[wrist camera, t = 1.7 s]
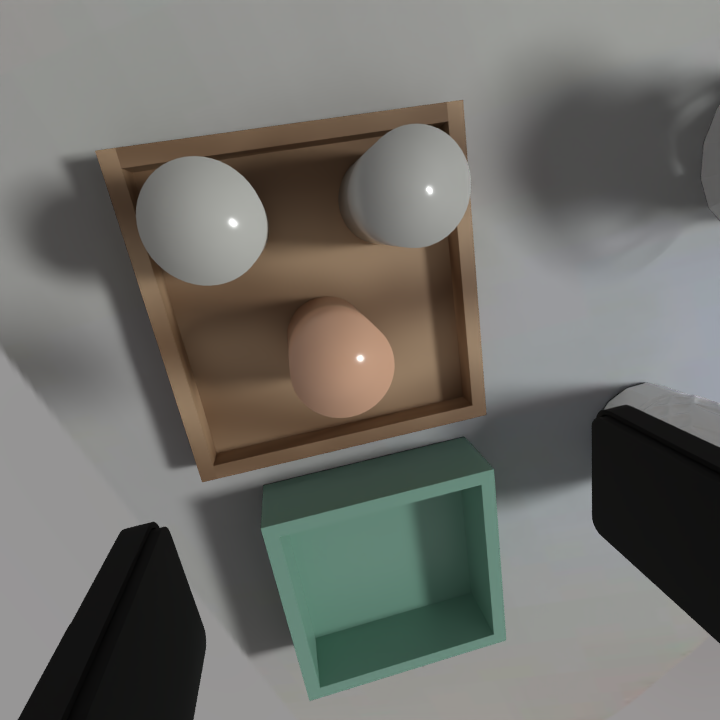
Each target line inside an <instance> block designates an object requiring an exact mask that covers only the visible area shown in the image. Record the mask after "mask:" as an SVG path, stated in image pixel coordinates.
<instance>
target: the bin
mask: <svg viewBox="0 0 720 720" xmlns="http://www.w3.org/2000/svg"><path fill="white" fill-rule="evenodd" d="M261 531H262V535H263V538H264V542H265V545H266V549H267V552H268V556H269V559H270V563H271V567H272V570H273V574H274V577H275V581H276V584H277V588H278V591H279V595H280V598H281V602H282V605H283V609H284V612H285V616H286V619H287V623H288V626H289V630H290V633H291V637H292V640H293V644H294V648H295V651H296V655H297V658H298V662H299V665H300V669H301V672H302V676H303V679H304V683H305V686H306V690H307V693H308V697H309V700H310V701H311V700H314V699H318V698H321V697H324V696H327V695H331V694H334V693H337V692H340V691H343V690H347V689H350V688H353V687H356V686H360V685H363V684H366V683H369V682H373V681H376V680H379V679H382V678H386V677H389V676H392V675H395V674H398V673H402V672H405V671H408V670H411V669H415V668H418V667H421V666H424V665H428V664H431V663H434V662H437V661H440V660H444V659H447V658H450V657H453V656H457V655H460V654H463V653H466V652H470V651H473V650H476V649H479V648H483V647H486V646H489V645H492V644H495V643H499V642H502V641H505V640H506V631H505V617H504V603H503V589H502V575H501V561H500V547H499V533H498V519H497V505H496V491H495V477H494V469H493V468H492V466H491V465H490V464H489V463H488V462H487V461H486V460H485V459H484V458H483V457H482V455H481V454H480V453H479V452H478V451H477V450H476V449H475V448H474V447H473V446H472V444H471V443H470V442H469V441H468V440H467V439H466V438H465V437H461V438H457V439H453V440H449V441H445V442H441V443H437V444H432V445H428V446H424V447H420V448H416V449H412V450H408V451H404V452H399V453H395V454H391V455H387V456H383V457H379V458H375V459H371V460H366V461H362V462H358V463H354V464H350V465H346V466H342V467H338V468H333V469H329V470H325V471H321V472H317V473H313V474H309V475H305V476H300V477H296V478H292V479H288V480H284V481H280V482H276V483H272V484H267V485H263V499H262V516H261Z"/></svg>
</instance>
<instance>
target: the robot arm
mask: <svg viewBox="0 0 720 720" xmlns="http://www.w3.org/2000/svg"><path fill="white" fill-rule="evenodd" d="M592 520H593V523H594V526H595V528H596V530H597V531H598V533H599V534H600V535H601V536H602V537H603V538H604V539H606V540H607V541H608V542H609V543H610V544H611V545H612V546H613V547H614V548H615V549H617V550H618V551H619V552H620V553H621V554H622V555H623V556H624V557H625V558H626V559H628V560H629V561H630V562H631V563H632V564H633V565H634V566H635V567H636V568H637V569H639V570H640V571H641V572H642V573H643V574H644V575H645V576H646V577H647V578H648V579H650V580H651V581H652V582H653V583H654V584H655V585H656V586H657V587H658V588H659V589H661V590H662V591H663V592H664V593H665V594H666V595H667V596H668V597H669V598H670V599H672V600H673V601H674V602H675V603H676V604H677V605H678V606H679V607H680V608H681V609H683V610H684V611H685V612H686V613H687V614H688V615H689V616H690V617H691V618H692V619H694V620H695V621H696V622H697V623H698V624H699V625H700V626H701V627H702V628H703V629H705V630H706V631H707V632H708V633H709V634H710V635H711V636H712V637H713V638H714V639H716V640H717V641H718V642H719V643H720V447H718V446H716V445H714V444H712V443H709V442H707V441H705V440H703V439H701V438H699V437H697V436H694V435H692V434H690V433H688V432H686V431H684V430H682V429H679V428H677V427H675V426H673V425H671V424H669V423H667V422H664V421H662V420H660V419H658V418H656V417H654V416H652V415H649V414H647V413H645V412H643V411H641V410H639V409H637V408H634V407H632V406H629V405H621V406H617V407H613V408H609V409H605V410H601V411H600V412H599V413H598V415H597V418H596V419H594V421H593V422H592ZM205 650H206V635H205V630H204V626H203V624H202V621H201V618H200V615H199V612H198V609H197V606H196V604H195V601H194V598H193V595H192V592H191V590H190V587H189V584H188V581H187V578H186V576H185V573H184V570H183V567H182V564H181V562H180V559H179V556H178V553H177V550H176V548H175V545H174V542H173V539H172V536H171V533H170V531H169V529H168V528H167V527H162V528H159V526H158V525H157V523H155V522H151V523H147V524H143V525H139V526H135V527H131V528H127V529H124V530H122V531H121V532H120V534H119V535H118V538H117V539H116V541H115V543H114V545H113V547H112V549H111V550H110V552H109V554H108V556H107V558H106V559H105V561H104V563H103V565H102V567H101V569H100V571H99V573H98V574H97V576H96V578H95V580H94V582H93V584H92V586H91V587H90V589H89V591H88V593H87V595H86V597H85V598H84V600H83V602H82V604H81V606H80V608H79V610H78V612H77V613H76V615H75V617H74V619H73V621H72V622H71V624H70V625H69V627H68V628H67V630H66V632H65V634H64V636H63V637H62V639H61V641H60V643H59V645H58V647H57V649H56V650H55V652H54V654H53V656H52V658H51V660H50V662H49V663H48V665H47V667H46V669H45V671H44V673H43V674H42V676H41V678H40V680H39V682H38V684H37V685H36V687H35V689H34V691H33V693H32V695H31V697H30V698H29V700H28V702H27V704H26V706H25V708H24V710H23V711H22V713H21V715H20V717H19V719H18V720H193V719H194V713H195V707H196V702H197V696H198V690H199V685H200V679H201V673H202V667H203V662H204V656H205Z"/></svg>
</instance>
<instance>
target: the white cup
mask: <svg viewBox="0 0 720 720" xmlns="http://www.w3.org/2000/svg"><path fill="white" fill-rule="evenodd" d="M621 405H629V406H632V407H634V408H637V409H639V410H641V411H643V412H645V413H647V414H649V415H652V416H654V417H656V418H658V419H660V420H662V421H664V422H667V423H669V424H671V425H673V426H675V427H677V428H679V429H682V430H684V431H686V432H688V433H690V434H692V435H694V436H697V437H699V438H701V439H703V440H705V441H707V442H709V443H712V444H714V445H716V446H718V447H720V403H718V402H715V401H711V400H708V399H706V398H703V397H700V396H696V395H688V394H685V393H683V392H680V391H677V390H674V389H671V388H668V387H665V386H661V385H656V384H651V383H643V384H640V385H636V386H633V387H629V388H626V389H625V390H624V391H622V392H621V393H620V394H618V395H617V396H616V397H614V398H613V399H612V400H611V401H609V402H608V404H607V405H606V407H605V408H604V410H605V409H609V408H613V407H617V406H621Z"/></svg>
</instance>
